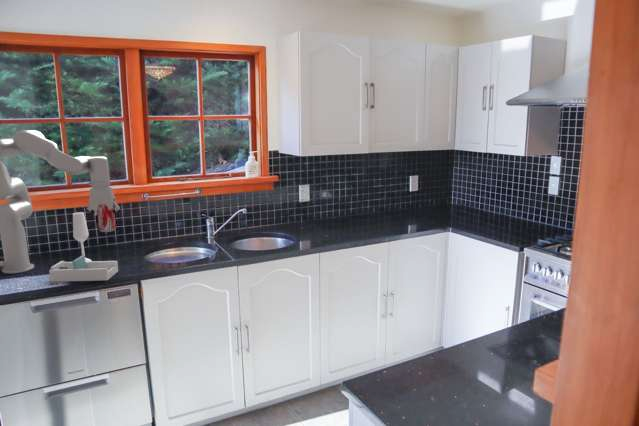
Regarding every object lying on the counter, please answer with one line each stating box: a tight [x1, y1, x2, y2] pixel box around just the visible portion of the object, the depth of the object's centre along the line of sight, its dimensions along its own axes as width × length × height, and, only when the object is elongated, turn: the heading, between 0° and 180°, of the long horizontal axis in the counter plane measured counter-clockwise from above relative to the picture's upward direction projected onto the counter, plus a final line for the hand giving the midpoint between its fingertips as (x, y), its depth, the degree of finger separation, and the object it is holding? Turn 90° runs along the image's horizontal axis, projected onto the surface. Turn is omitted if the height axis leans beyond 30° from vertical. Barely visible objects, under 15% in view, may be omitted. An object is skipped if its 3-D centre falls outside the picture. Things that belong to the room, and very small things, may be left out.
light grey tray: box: [48, 260, 119, 283], centre depth 204 cm, size 24×12×6 cm, turn 92°
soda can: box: [97, 204, 116, 233], centre depth 212 cm, size 7×7×13 cm
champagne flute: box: [72, 211, 92, 262], centre depth 225 cm, size 7×7×24 cm
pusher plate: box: [71, 255, 86, 269], centre depth 204 cm, size 2×8×7 cm, turn 2°
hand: (105, 223), depth 213 cm, fingers closed on soda can, 4 cm apart
